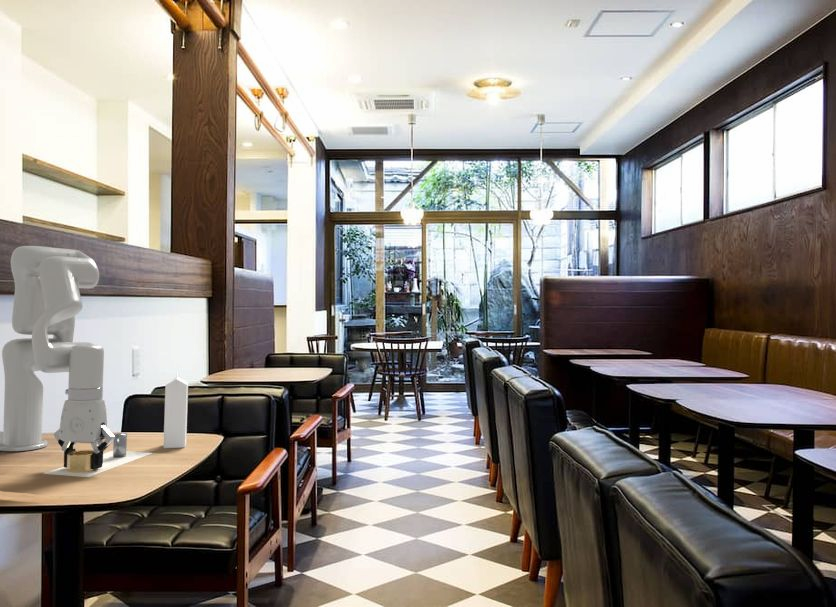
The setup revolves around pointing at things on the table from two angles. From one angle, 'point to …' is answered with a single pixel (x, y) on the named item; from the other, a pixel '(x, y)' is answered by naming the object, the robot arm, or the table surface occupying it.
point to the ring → (79, 461)
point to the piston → (119, 445)
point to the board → (107, 464)
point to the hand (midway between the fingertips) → (83, 466)
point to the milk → (175, 413)
